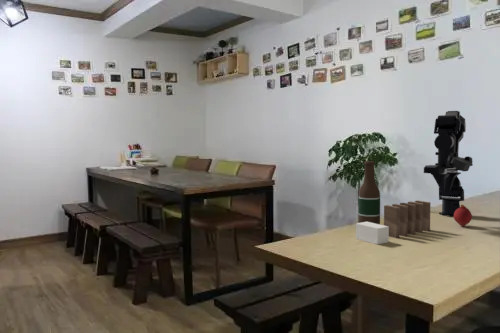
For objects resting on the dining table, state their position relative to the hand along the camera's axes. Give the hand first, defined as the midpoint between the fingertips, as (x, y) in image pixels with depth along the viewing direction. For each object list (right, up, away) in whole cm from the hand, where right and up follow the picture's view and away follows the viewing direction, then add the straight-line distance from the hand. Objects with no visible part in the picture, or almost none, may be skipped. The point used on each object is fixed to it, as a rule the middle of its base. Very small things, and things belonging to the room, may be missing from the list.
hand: (445, 191), depth 155 cm
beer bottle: (-29, -13, -2) cm, 32 cm away
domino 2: (-22, -14, -14) cm, 30 cm away
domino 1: (-26, -14, -16) cm, 33 cm away
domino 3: (-19, -13, -12) cm, 26 cm away
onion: (+4, -13, -4) cm, 14 cm away
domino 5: (-12, -13, -8) cm, 19 cm away
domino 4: (-15, -13, -10) cm, 23 cm away
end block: (-34, -14, -21) cm, 42 cm away
